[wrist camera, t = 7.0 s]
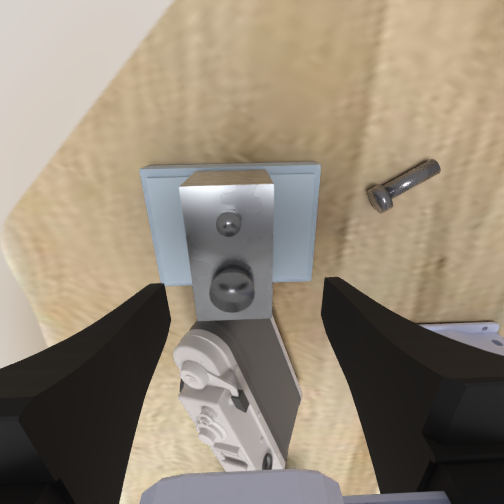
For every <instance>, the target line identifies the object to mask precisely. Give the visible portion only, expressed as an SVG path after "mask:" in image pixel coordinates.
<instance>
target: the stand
mask: <svg viewBox="0 0 504 504" xmlns="http://www.w3.org/2000/svg"><path fill="white" fill-rule="evenodd" d="M253 169H266V171H267V172H268V174H269V176H270V178H271V180H272V181H273V183H274V219H273V282H300V281H311V277H312V265H313V254H314V242H315V231H316V219H317V208H318V196H319V185H320V173H321V164H318V163H316V162H314V161H308V162H268V163H227V164H187V165H149V166H146V167H144V168H141V169H139V171H140V176H141V182H142V187H143V192H144V197H145V202H146V208H147V213H148V218H149V223H150V228H151V234H152V239H153V244H154V249H155V254H156V260H157V265H158V270H159V275H160V280H161V283H164V285H165V286H185V285H192V278H191V271H190V264H189V256H188V249H187V241H186V234H185V227H184V219H183V212H182V204H181V197H180V190H179V186H180V185H181V184H182V183H184V182H185V181H186V180H187V179H188V178H189V177H190V176H191V175H192V174H193V173H194V172H195V171H214V170H253Z"/></svg>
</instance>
